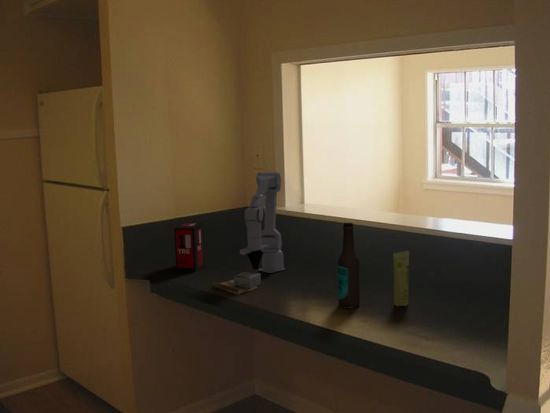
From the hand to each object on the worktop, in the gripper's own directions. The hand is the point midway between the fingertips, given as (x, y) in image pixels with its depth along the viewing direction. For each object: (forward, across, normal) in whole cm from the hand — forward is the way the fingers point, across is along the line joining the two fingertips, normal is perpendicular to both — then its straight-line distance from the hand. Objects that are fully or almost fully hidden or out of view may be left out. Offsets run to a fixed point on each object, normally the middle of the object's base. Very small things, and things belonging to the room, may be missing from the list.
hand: (255, 268), depth 255 cm
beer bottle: (+6, -1, +49) cm, 49 cm away
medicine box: (+3, +3, +2) cm, 4 cm away
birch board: (+6, +11, 0) cm, 12 cm away
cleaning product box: (+6, +2, -43) cm, 43 cm away
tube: (+6, -14, +63) cm, 64 cm away
